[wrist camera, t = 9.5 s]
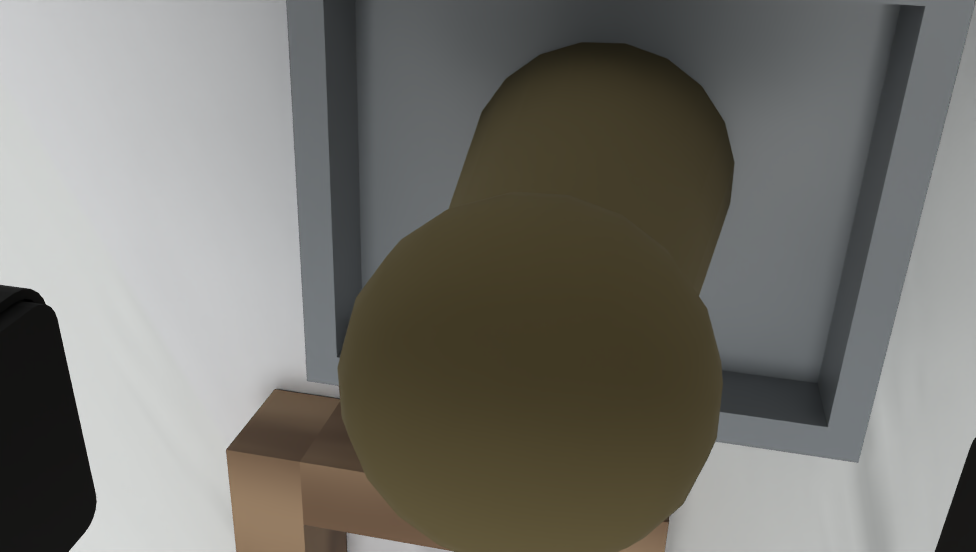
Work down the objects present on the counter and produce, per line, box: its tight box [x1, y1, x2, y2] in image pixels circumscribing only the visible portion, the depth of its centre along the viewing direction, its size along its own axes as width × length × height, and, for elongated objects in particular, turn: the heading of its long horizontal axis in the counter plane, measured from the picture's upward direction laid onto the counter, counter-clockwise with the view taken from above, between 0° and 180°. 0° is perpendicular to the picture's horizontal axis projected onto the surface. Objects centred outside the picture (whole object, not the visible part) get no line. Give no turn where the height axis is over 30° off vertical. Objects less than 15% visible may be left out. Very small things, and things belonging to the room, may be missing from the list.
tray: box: [286, 0, 976, 463], centre depth 20 cm, size 11×13×2 cm
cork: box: [337, 42, 735, 552], centre depth 16 cm, size 6×6×11 cm
